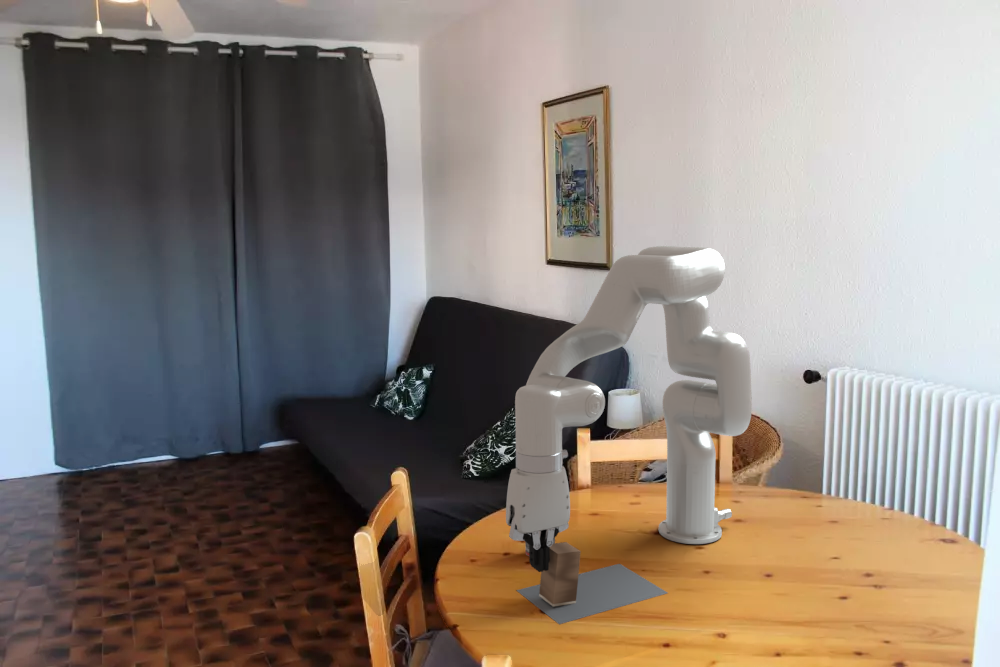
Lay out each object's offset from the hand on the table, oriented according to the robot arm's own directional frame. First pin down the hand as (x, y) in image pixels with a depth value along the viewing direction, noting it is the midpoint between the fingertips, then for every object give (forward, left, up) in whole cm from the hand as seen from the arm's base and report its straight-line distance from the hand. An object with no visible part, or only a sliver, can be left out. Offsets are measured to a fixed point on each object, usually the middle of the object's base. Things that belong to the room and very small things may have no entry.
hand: (539, 568), depth 139 cm
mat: (-10, 0, -7) cm, 13 cm away
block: (-3, 0, -6) cm, 7 cm away
